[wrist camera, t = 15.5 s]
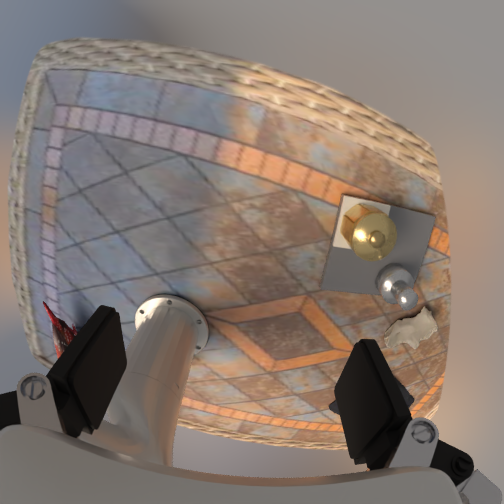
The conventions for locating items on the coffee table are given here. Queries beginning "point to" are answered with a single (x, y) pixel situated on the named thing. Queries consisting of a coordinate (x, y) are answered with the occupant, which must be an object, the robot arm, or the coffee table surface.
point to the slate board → (365, 272)
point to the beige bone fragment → (411, 330)
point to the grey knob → (396, 286)
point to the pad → (348, 204)
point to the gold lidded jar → (368, 232)
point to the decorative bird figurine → (60, 332)
